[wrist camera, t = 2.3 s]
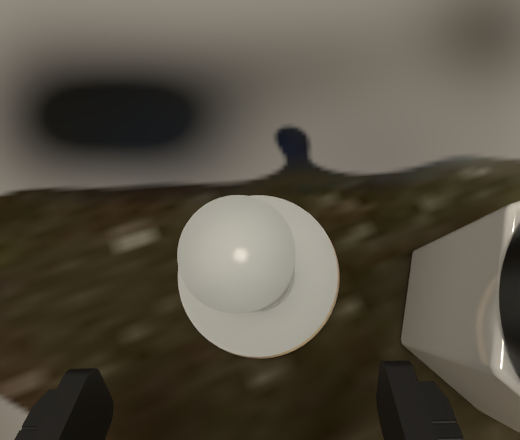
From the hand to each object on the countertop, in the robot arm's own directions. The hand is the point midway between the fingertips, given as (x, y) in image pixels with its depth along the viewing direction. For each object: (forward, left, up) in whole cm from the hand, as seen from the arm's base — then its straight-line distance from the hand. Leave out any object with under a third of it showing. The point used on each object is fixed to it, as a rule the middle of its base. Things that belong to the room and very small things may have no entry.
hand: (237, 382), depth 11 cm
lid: (0, -4, -8) cm, 9 cm away
